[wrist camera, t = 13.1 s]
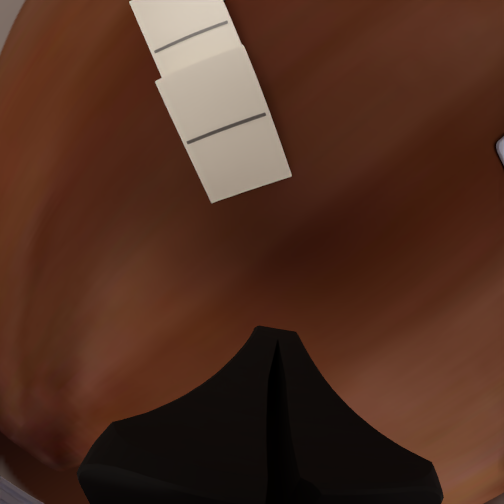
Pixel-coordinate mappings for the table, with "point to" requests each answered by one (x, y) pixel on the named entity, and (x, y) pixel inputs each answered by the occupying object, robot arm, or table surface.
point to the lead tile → (225, 124)
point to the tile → (184, 31)
